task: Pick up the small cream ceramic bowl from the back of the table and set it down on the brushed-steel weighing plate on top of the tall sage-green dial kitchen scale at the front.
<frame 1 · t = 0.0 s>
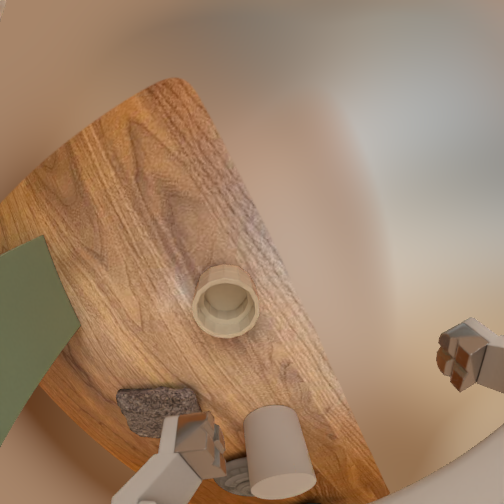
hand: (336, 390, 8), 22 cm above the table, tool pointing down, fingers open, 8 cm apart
flying saucer: (254, 469, 42), on the table
bowl: (310, 502, 51), on the table
small bowl: (225, 290, 31), on the table
taupe round pillar: (270, 421, 38), on the table
stone: (161, 405, 36), on the table
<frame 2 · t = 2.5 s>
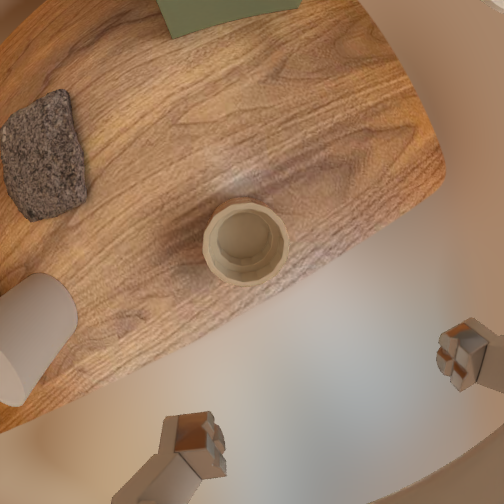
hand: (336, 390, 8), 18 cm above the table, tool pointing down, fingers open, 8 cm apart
small bowl: (242, 232, 26), on the table
taupe round pillar: (48, 306, 26), on the table
stone: (48, 155, 22), on the table
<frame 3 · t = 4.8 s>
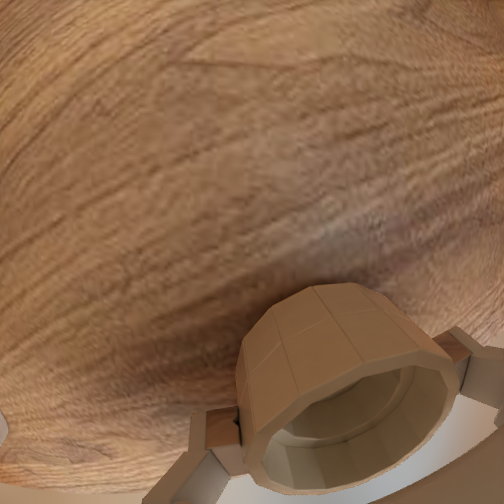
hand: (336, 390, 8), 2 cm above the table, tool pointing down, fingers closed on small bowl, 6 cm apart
small bowl: (320, 354, 10), on the table, touching gripper
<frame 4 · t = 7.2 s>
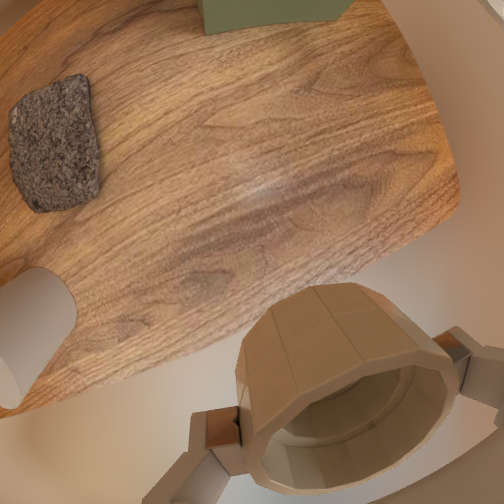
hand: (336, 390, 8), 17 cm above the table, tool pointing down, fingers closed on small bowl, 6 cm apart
small bowl: (320, 353, 10), point 15 cm above the table, touching gripper
taupe round pillar: (46, 303, 25), on the table
stone: (60, 143, 21), on the table
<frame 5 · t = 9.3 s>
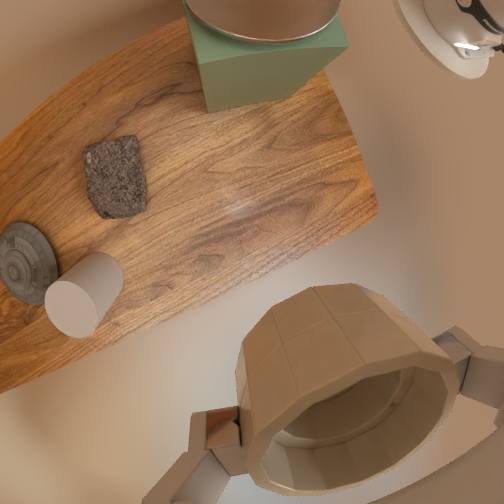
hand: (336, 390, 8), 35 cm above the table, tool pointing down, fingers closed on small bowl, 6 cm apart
flying saucer: (29, 262, 40), on the table
small bowl: (320, 354, 10), point 33 cm above the table, touching gripper
taupe round pillar: (101, 276, 42), on the table
stone: (117, 176, 39), on the table
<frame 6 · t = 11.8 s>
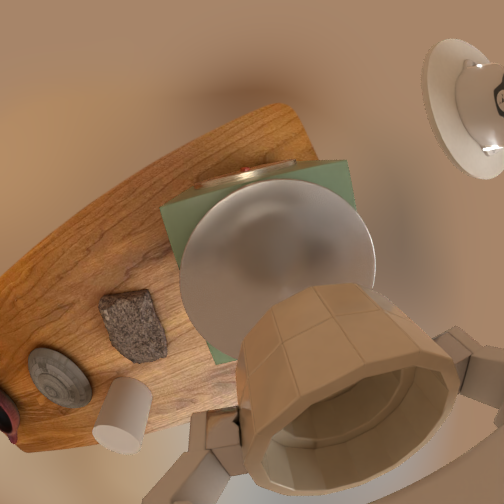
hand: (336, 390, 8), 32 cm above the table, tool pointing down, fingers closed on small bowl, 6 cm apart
scale: (283, 284, 17), on the table
flying saucer: (61, 374, 44), on the table
bowl: (11, 402, 46), on the table
small bowl: (320, 354, 10), point 30 cm above the table, touching gripper
taupe round pillar: (131, 392, 46), on the table
stone: (136, 322, 42), on the table
when the fingers open (25 cm above the table, at t = 14.0 s): small bowl stays where it is, resting on scale.
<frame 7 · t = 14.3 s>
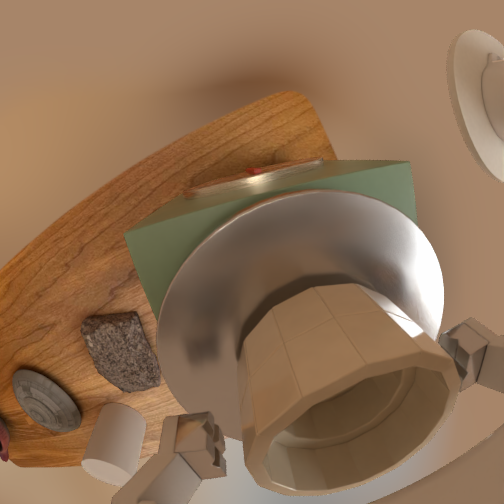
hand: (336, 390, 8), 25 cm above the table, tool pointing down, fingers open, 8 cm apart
scale: (319, 354, 10), on the table
flying saucer: (48, 396, 37), on the table
bowl: (0, 419, 39), on the table
small bowl: (321, 354, 10), point 23 cm above the table, touching scale
taupe round pillar: (123, 418, 39), on the table
stone: (124, 347, 35), on the table
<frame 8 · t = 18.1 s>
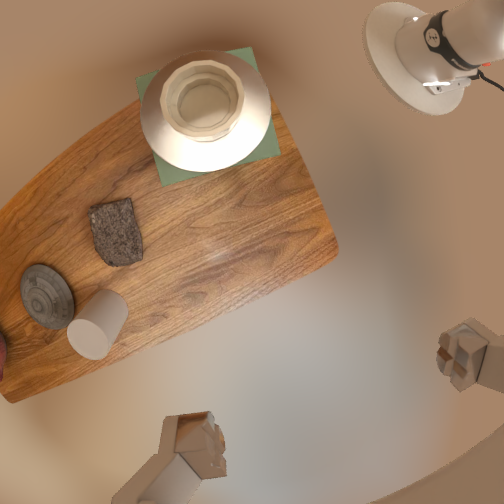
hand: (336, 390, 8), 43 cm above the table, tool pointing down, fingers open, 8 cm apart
scale: (204, 107, 24), on the table
flying saucer: (49, 295, 51), on the table
bowl: (1, 339, 53), on the table
small bowl: (205, 108, 24), point 23 cm above the table, touching scale
taupe round pillar: (110, 307, 53), on the table
stone: (118, 230, 49), on the table
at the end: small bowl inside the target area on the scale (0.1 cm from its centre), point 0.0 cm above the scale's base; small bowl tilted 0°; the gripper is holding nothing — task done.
